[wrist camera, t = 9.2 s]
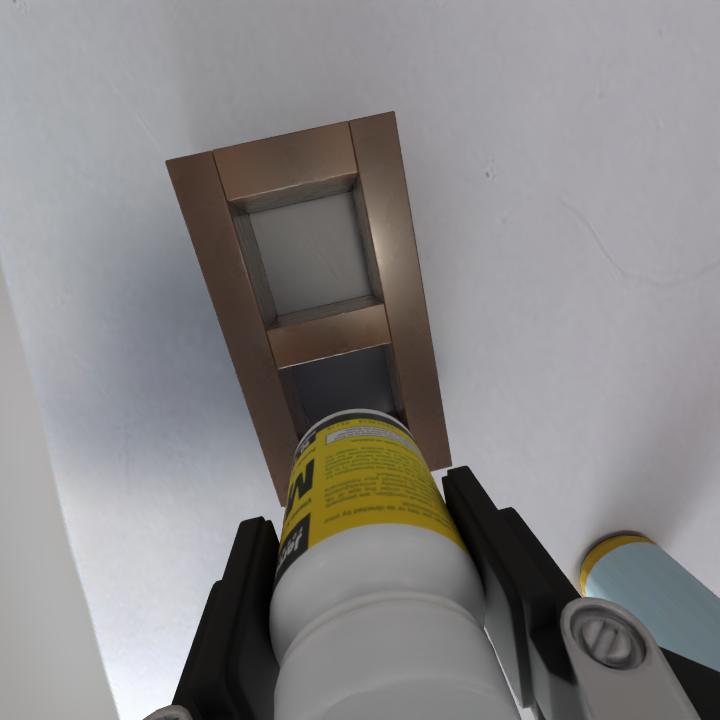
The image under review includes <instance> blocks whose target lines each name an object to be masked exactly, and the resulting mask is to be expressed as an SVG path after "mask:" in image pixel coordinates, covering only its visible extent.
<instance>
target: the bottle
mask: <svg viewBox="0 0 720 720" xmlns="http://www.w3.org/2000/svg"><path fill="white" fill-rule="evenodd" d="M580 584H581V590H582V592H583V593H584V595H585V597H595V598H602V599H605V600H608V601H611V602H614V603H616V604H618V605H620V606H621V607H623V608H625V609H627V610H628V611H630V612H631V613H632V614H633V615H635V616H636V617H637V618H638V619H639V620H640V621H641V622H643V624H644V625H645V626H646V628H647V629H648V630H649V632H650V633H651V634H652V636H653V638H654V639H655V641H656V643H657V645H658V646H660V647H662V648H665V649H667V650H669V651H672V652H674V653H676V654H679V655H681V656H684V657H686V658H688V659H691V660H693V661H695V662H698V663H700V664H702V665H705V666H707V667H709V668H712V669H714V670H716V671H719V672H720V598H718V597H717V596H716V595H715V594H714V593H713V592H711V591H710V590H709V589H708V588H707V587H706V586H704V585H703V584H702V583H701V582H700V581H699V580H697V579H696V578H695V577H694V576H693V575H692V574H691V573H689V572H688V571H687V570H686V569H685V568H684V567H682V566H681V565H680V564H679V563H678V562H677V561H675V560H674V559H673V558H672V557H671V556H670V555H668V554H667V553H666V552H665V551H664V550H662V549H661V548H660V547H659V546H657V545H656V544H655V543H654V542H652V541H651V540H649V539H647V538H643V537H639V536H617V537H613V538H610V539H607V540H605V541H604V542H602V543H600V544H598V545H597V546H596V547H595V548H594V549H593V550H592V551H590V552H589V554H588V555H587V557H586V558H585V560H584V561H583V564H582V568H581V573H580Z"/></svg>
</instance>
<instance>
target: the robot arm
mask: <svg viewBox="0 0 720 720" xmlns="http://www.w3.org/2000/svg"><path fill="white" fill-rule="evenodd" d="M447 475H448V476H444V477H442V484H443V489H444V495H445V501H446V506H447V508H448V510H449V513H450V515H451V517H452V519H453V521H454V523H455V525H456V527H457V529H458V531H459V533H460V535H461V537H462V539H463V541H464V543H465V545H466V547H467V549H468V551H469V553H470V555H471V557H472V559H473V561H474V563H475V565H476V567H477V569H478V572H479V575H480V578H481V581H482V585H483V589H484V595H485V623H484V625H485V627H486V629H487V632H488V634H489V636H490V639H491V641H492V643H493V646H494V648H495V650H496V652H497V655H498V657H499V659H500V662H501V664H502V666H503V669H504V671H505V673H506V675H507V678H508V680H509V682H510V685H511V687H512V689H513V692H514V694H515V696H516V698H517V701H518V703H519V705H520V706H521V708H522V709H525V708H529V707H530V708H531V711H532V713H533V715H534V717H535V719H536V720H720V672H719V671H716V670H714V669H712V668H709V667H707V666H705V665H702V664H700V663H698V662H695V661H693V660H691V659H688V658H686V657H684V656H681V655H679V654H676V653H674V652H672V651H669V650H667V649H665V648H662V647H660V646H658V645H657V643H656V641H655V639H654V638H653V636H652V634H651V633H650V632H649V630H648V629H647V628H646V626H645V625H644V624H643V622H641V621H640V620H639V619H638V618H637V617H636V616H635V615H633V614H632V613H631V612H630V611H628V610H627V609H625V608H623V607H621V606H620V605H618V604H616V603H614V602H611V601H608V600H605V599H602V598H595V597H583V598H582V597H581V596H580V595H579V593H578V592H577V591H576V589H575V588H574V587H573V585H572V584H571V583H570V581H569V580H568V579H567V577H566V576H565V575H564V573H563V572H562V571H561V569H560V568H559V567H558V565H557V564H556V563H555V561H554V560H553V559H552V558H551V556H550V555H549V554H548V552H547V551H546V550H545V548H544V547H543V546H542V544H541V543H540V542H539V540H538V539H537V538H536V536H535V535H534V534H533V532H532V531H531V530H530V528H529V527H528V526H527V525H526V523H525V522H524V521H523V519H522V518H521V517H520V515H519V514H518V513H517V512H516V510H515V509H514V508H512V507H509V508H505V509H501V510H498V509H497V508H496V506H495V505H494V503H493V502H492V500H491V499H490V498H489V496H488V495H487V493H486V492H485V490H484V489H483V487H482V486H481V484H480V483H479V482H478V480H477V479H476V477H475V476H474V474H473V473H472V471H471V470H470V468H469V467H468V466H462V467H458V468H454V469H450V470H448V471H447ZM279 546H280V543H279V541H278V538H277V535H276V532H275V529H274V526H273V524H272V521H271V520H267V521H265V519H264V518H263V517H262V516H260V517H256V518H252V519H248V520H244V521H242V522H241V523H240V525H239V528H238V531H237V534H236V537H235V540H234V544H233V547H232V550H231V553H230V556H229V559H228V562H227V565H226V568H225V572H224V575H223V578H222V580H220V581H216V582H215V584H214V585H213V587H212V589H211V591H210V594H209V597H208V600H207V603H206V606H205V608H204V611H203V614H202V617H201V620H200V623H199V626H198V629H197V632H196V635H195V637H194V640H193V643H192V646H191V649H190V652H189V655H188V658H187V661H186V663H185V666H184V669H183V672H182V675H181V678H180V681H179V684H178V687H177V690H176V692H175V695H174V698H173V701H172V704H171V705H169V706H166V707H163V708H161V709H158V710H156V711H155V712H153V713H152V714H150V715H149V716H147V717H146V718H144V719H143V720H274V692H275V687H276V683H277V679H278V676H279V672H280V666H279V664H278V662H277V659H276V657H275V654H274V651H273V647H272V644H271V638H270V631H269V616H270V602H271V596H272V589H273V584H274V579H275V571H276V565H277V560H278V553H279Z"/></svg>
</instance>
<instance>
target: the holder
mask: <svg viewBox="0 0 720 720" xmlns="http://www.w3.org/2000/svg"><path fill="white" fill-rule="evenodd" d="M165 163H166V166H167V169H168V172H169V175H170V178H171V181H172V184H173V187H174V190H175V193H176V196H177V199H178V202H179V205H180V208H181V211H182V214H183V217H184V220H185V223H186V226H187V229H188V232H189V234H190V237H191V240H192V243H193V246H194V249H195V252H196V255H197V258H198V261H199V264H200V267H201V270H202V273H203V276H204V279H205V282H206V285H207V288H208V291H209V294H210V297H211V300H212V303H213V306H214V309H215V312H216V315H217V318H218V321H219V323H220V326H221V329H222V332H223V335H224V338H225V341H226V344H227V347H228V350H229V353H230V356H231V359H232V362H233V365H234V368H235V371H236V374H237V377H238V380H239V383H240V386H241V389H242V392H243V395H244V398H245V401H246V404H247V407H248V410H249V413H250V415H251V418H252V421H253V424H254V427H255V430H256V433H257V436H258V439H259V442H260V445H261V448H262V451H263V454H264V457H265V460H266V463H267V466H268V469H269V472H270V475H271V478H272V481H273V484H274V487H275V490H276V493H277V496H278V499H279V502H280V504H281V507H282V508H285V507H286V501H287V497H288V489H289V483H290V476H291V470H292V463H293V459H294V455H295V452H296V449H297V447H298V445H299V443H300V441H301V440H302V438H303V437H304V435H305V434H306V433H307V432H308V431H309V430H310V427H309V424H308V420H307V417H306V413H305V410H304V406H303V403H302V399H301V396H300V392H299V389H298V385H297V382H296V378H295V375H294V371H293V368H292V366H294V365H298V364H303V363H307V362H311V361H315V360H320V359H324V358H328V357H332V356H337V355H341V354H345V353H349V352H354V351H358V350H362V349H366V348H371V347H375V346H379V345H383V348H384V353H385V357H386V362H387V367H388V372H389V377H390V382H391V387H392V392H393V396H394V401H395V406H396V411H397V412H396V411H394V412H390V413H386V414H387V415H389V416H391V417H393V418H395V419H396V420H398V421H399V422H400V423H402V424H403V425H404V426H405V427H406V428H407V429H408V431H409V432H410V433H411V435H412V436H413V438H414V440H415V442H416V443H417V445H418V447H419V449H420V452H421V454H422V456H423V458H424V460H425V462H426V464H427V466H428V469H429V471H430V472H431V471H435V470H439V469H443V468H447V467H451V466H452V461H451V454H450V448H449V442H448V436H447V430H446V424H445V418H444V412H443V405H442V399H441V393H440V387H439V381H438V375H437V369H436V362H435V356H434V350H433V344H432V338H431V332H430V326H429V320H428V313H427V307H426V301H425V295H424V289H423V283H422V277H421V271H420V264H419V258H418V252H417V246H416V240H415V234H414V228H413V221H412V215H411V209H410V203H409V197H408V191H407V185H406V179H405V172H404V166H403V160H402V154H401V148H400V142H399V136H398V130H397V123H396V117H395V112H394V111H391V112H386V113H382V114H377V115H372V116H368V117H363V118H359V119H354V120H350V121H349V122H348V121H344V122H340V123H335V124H330V125H326V126H321V127H317V128H312V129H307V130H303V131H298V132H293V133H289V134H284V135H279V136H275V137H270V138H266V139H261V140H256V141H252V142H247V143H242V144H238V145H233V146H229V147H224V148H219V149H215V150H212V151H207V152H202V153H198V154H193V155H189V156H184V157H179V158H175V159H170V160H166V161H165ZM349 191H351V192H352V196H353V201H354V206H355V211H356V216H357V221H358V226H359V231H360V235H361V240H362V245H363V250H364V255H365V260H366V265H367V270H368V274H369V279H370V284H371V289H372V294H373V295H368V296H364V297H359V298H355V299H351V300H346V301H342V302H338V303H333V304H329V305H325V306H321V307H316V308H312V309H308V310H303V311H299V312H295V313H290V314H286V315H282V316H277V312H276V309H275V305H274V302H273V298H272V295H271V291H270V288H269V284H268V281H267V277H266V274H265V270H264V267H263V263H262V260H261V256H260V253H259V249H258V246H257V243H256V239H255V236H254V232H253V229H252V225H251V222H250V218H249V215H248V213H249V214H250V213H254V212H259V211H263V210H268V209H272V208H277V207H281V206H286V205H290V204H295V203H299V202H304V201H308V200H313V199H317V198H322V197H326V196H331V195H335V194H340V193H344V192H349Z"/></svg>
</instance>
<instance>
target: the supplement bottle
mask: <svg viewBox="0 0 720 720" xmlns="http://www.w3.org/2000/svg"><path fill="white" fill-rule="evenodd" d="M484 623H485V595H484V589H483V585H482V581H481V578H480V575H479V572H478V569H477V567H476V565H475V563H474V561H473V559H472V557H471V555H470V553H469V551H468V549H467V547H466V545H465V543H464V541H463V539H462V537H461V535H460V533H459V531H458V529H457V527H456V525H455V523H454V521H453V519H452V517H451V515H450V513H449V510H448V508H447V506H446V504H445V502H444V500H443V498H442V496H441V494H440V492H439V490H438V487H437V485H436V483H435V481H434V479H433V477H432V475H431V473H430V471H429V469H428V466H427V464H426V462H425V460H424V458H423V456H422V454H421V452H420V449H419V447H418V445H417V443H416V442H415V440H414V438H413V436H412V435H411V433H410V432H409V431H408V429H407V428H406V427H405V426H404V425H403V424H402V423H400V422H399V421H398V420H396V419H395V418H393V417H391V416H389V415H387V414H385V413H382V412H379V411H375V410H371V409H350V410H344V411H340V412H337V413H334V414H332V415H329V416H327V417H325V418H323V419H322V420H320V421H319V422H317V423H316V424H315V425H314V426H313V427H311V428H310V430H309V431H308V432H307V433H306V434H305V435H304V437H303V438H302V440H301V441H300V443H299V445H298V447H297V449H296V452H295V455H294V459H293V463H292V470H291V476H290V483H289V489H288V497H287V501H286V509H285V515H284V521H283V529H282V535H281V540H280V546H279V553H278V560H277V565H276V571H275V579H274V584H273V589H272V596H271V602H270V616H269V631H270V638H271V644H272V647H273V651H274V654H275V657H276V659H277V662H278V664H279V666H280V672H279V676H278V679H277V683H276V687H275V692H274V720H521V717H520V714H519V712H518V709H517V706H516V704H515V701H514V699H513V696H512V694H511V691H510V689H509V686H508V684H507V681H506V679H505V676H504V674H503V672H502V669H501V667H500V664H499V662H498V659H497V657H496V654H495V651H494V648H493V646H492V644H491V643H490V641H489V639H488V637H487V634H486V632H485V631H484Z"/></svg>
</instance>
